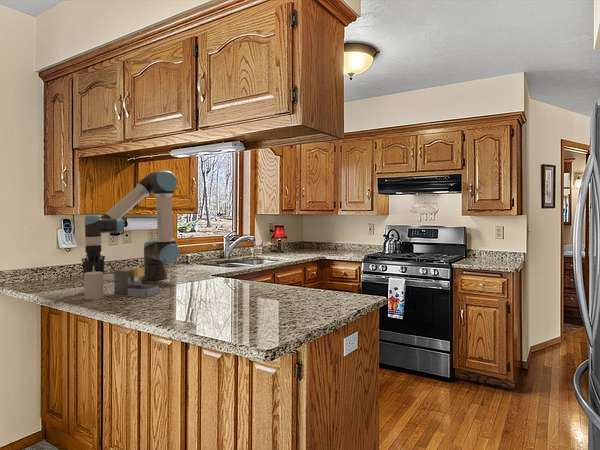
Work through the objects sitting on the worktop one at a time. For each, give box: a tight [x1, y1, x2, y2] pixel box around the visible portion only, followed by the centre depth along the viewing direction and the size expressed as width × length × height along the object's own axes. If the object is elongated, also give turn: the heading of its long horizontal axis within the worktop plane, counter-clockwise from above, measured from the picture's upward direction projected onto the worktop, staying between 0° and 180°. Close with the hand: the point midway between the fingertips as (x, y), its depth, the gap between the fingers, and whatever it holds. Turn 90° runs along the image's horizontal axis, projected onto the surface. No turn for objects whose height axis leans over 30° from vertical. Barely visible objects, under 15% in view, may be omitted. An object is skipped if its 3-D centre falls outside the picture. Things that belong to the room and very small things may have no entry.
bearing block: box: [113, 267, 142, 297], centre depth 214 cm, size 10×8×12 cm
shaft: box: [93, 270, 138, 282], centre depth 217 cm, size 4×29×9 cm, turn 72°
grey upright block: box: [83, 272, 104, 300], centre depth 203 cm, size 8×8×12 cm
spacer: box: [131, 267, 145, 277], centre depth 212 cm, size 5×4×4 cm
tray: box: [127, 284, 161, 298], centre depth 211 cm, size 10×11×4 cm
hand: (94, 289), depth 221 cm, fingers closed on shaft, 4 cm apart
